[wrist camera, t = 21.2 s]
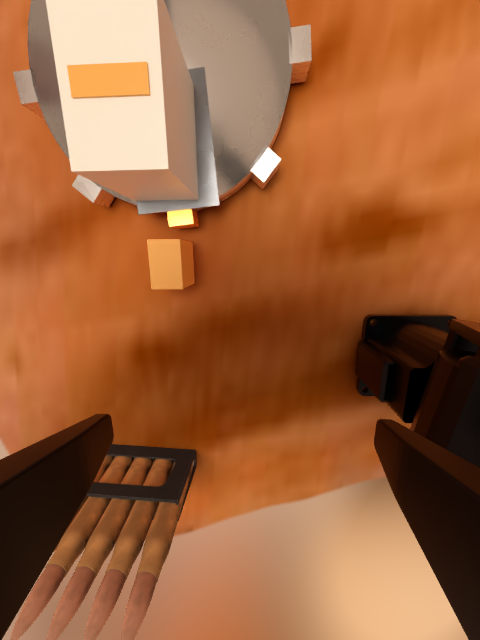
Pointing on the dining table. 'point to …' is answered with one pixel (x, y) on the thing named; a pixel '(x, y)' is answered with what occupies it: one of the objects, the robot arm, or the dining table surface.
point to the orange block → (171, 263)
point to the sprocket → (201, 94)
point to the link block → (125, 97)
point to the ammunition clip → (103, 531)
